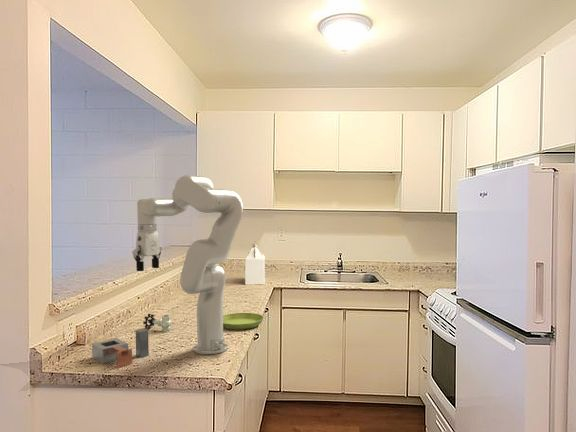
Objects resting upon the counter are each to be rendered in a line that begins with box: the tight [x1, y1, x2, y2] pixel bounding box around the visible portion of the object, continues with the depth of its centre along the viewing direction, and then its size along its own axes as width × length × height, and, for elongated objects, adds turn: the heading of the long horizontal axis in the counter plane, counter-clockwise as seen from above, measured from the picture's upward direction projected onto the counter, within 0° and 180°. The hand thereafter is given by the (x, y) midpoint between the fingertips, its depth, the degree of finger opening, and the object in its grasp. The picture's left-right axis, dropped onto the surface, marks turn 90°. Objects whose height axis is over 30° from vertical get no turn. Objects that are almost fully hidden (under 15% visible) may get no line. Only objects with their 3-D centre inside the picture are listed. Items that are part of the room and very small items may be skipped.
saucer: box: [223, 312, 265, 330], centre depth 201 cm, size 21×21×3 cm
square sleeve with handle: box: [91, 337, 133, 368], centre depth 155 cm, size 16×9×5 cm, turn 45°
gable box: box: [244, 241, 266, 285], centre depth 312 cm, size 22×13×28 cm, turn 3°
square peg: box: [135, 328, 150, 359], centre depth 159 cm, size 3×3×9 cm
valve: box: [142, 313, 172, 333], centre depth 192 cm, size 7×7×12 cm
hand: (148, 269), depth 186 cm, fingers open, 9 cm apart
